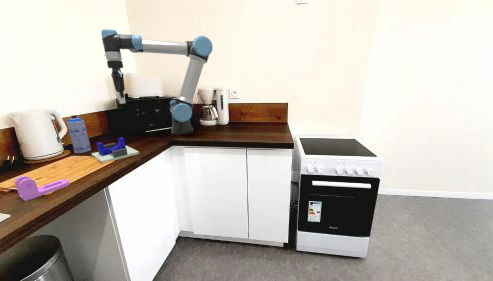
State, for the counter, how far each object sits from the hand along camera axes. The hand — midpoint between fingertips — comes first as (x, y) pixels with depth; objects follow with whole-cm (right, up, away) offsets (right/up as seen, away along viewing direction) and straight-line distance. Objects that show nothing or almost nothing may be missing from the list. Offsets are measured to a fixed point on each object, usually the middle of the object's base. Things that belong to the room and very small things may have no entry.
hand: (122, 103), depth 127 cm
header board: (+4, -29, -14) cm, 33 cm away
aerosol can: (-20, -28, -5) cm, 34 cm away
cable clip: (+3, -28, -13) cm, 31 cm away
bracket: (+1, -40, -49) cm, 64 cm away
